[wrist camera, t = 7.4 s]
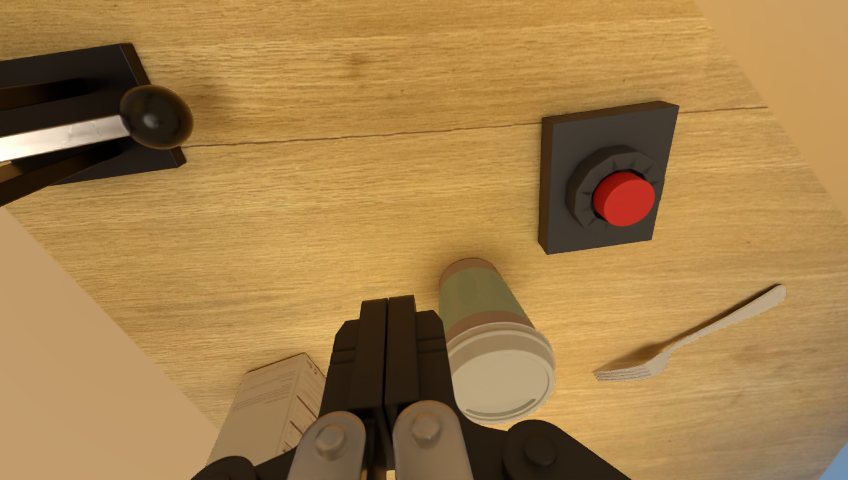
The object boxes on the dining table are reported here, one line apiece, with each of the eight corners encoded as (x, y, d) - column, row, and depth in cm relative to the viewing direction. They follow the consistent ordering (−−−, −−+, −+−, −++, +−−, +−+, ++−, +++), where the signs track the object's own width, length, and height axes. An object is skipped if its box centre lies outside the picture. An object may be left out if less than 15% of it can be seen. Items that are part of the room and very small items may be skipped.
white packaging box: (281, 412, 42) (241, 545, 31) (244, 371, 39) (183, 505, 28) (340, 394, 41) (319, 524, 30) (307, 350, 38) (270, 480, 27)
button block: (542, 117, 28) (562, 129, 24) (660, 100, 28) (698, 109, 24) (538, 242, 33) (554, 266, 30) (636, 228, 33) (665, 251, 30)
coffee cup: (410, 304, 36) (416, 416, 25) (448, 232, 32) (474, 328, 22) (487, 327, 38) (521, 439, 27) (530, 262, 34) (590, 363, 24)
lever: (176, 79, 22) (178, 80, 19) (201, 136, 23) (206, 145, 21) (-160, 132, 16) (-221, 144, 13) (-95, 203, 18) (-139, 226, 15)
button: (595, 174, 26) (607, 183, 25) (644, 167, 26) (659, 176, 25) (590, 219, 28) (601, 229, 27) (636, 212, 28) (650, 223, 27)
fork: (763, 285, 40) (790, 299, 38) (599, 382, 43) (614, 402, 41) (759, 268, 39) (786, 281, 37) (590, 369, 42) (605, 389, 40)
